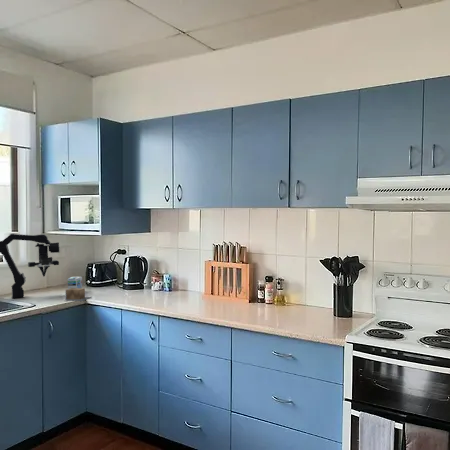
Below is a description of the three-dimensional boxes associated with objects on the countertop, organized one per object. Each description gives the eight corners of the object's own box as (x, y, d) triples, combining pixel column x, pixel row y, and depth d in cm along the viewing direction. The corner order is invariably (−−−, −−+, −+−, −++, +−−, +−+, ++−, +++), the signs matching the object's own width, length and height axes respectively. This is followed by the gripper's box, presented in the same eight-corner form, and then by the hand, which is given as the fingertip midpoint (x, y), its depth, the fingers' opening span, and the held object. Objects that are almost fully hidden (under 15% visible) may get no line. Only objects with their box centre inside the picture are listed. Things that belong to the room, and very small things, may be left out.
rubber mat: (64, 300, 287) (64, 300, 287) (74, 297, 299) (74, 296, 299) (82, 301, 285) (82, 300, 285) (91, 297, 296) (91, 296, 296)
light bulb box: (77, 294, 309) (77, 278, 309) (67, 294, 309) (67, 278, 309) (82, 291, 320) (82, 276, 319) (73, 291, 320) (72, 276, 320)
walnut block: (65, 289, 290) (80, 290, 288) (70, 288, 296) (84, 288, 294) (65, 299, 290) (80, 299, 288) (70, 297, 296) (84, 297, 294)
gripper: (30, 254, 292) (30, 279, 293) (60, 253, 302) (61, 276, 302) (27, 253, 302) (28, 277, 302) (56, 252, 311) (57, 274, 312)
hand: (43, 276), depth 304 cm, fingers closed
